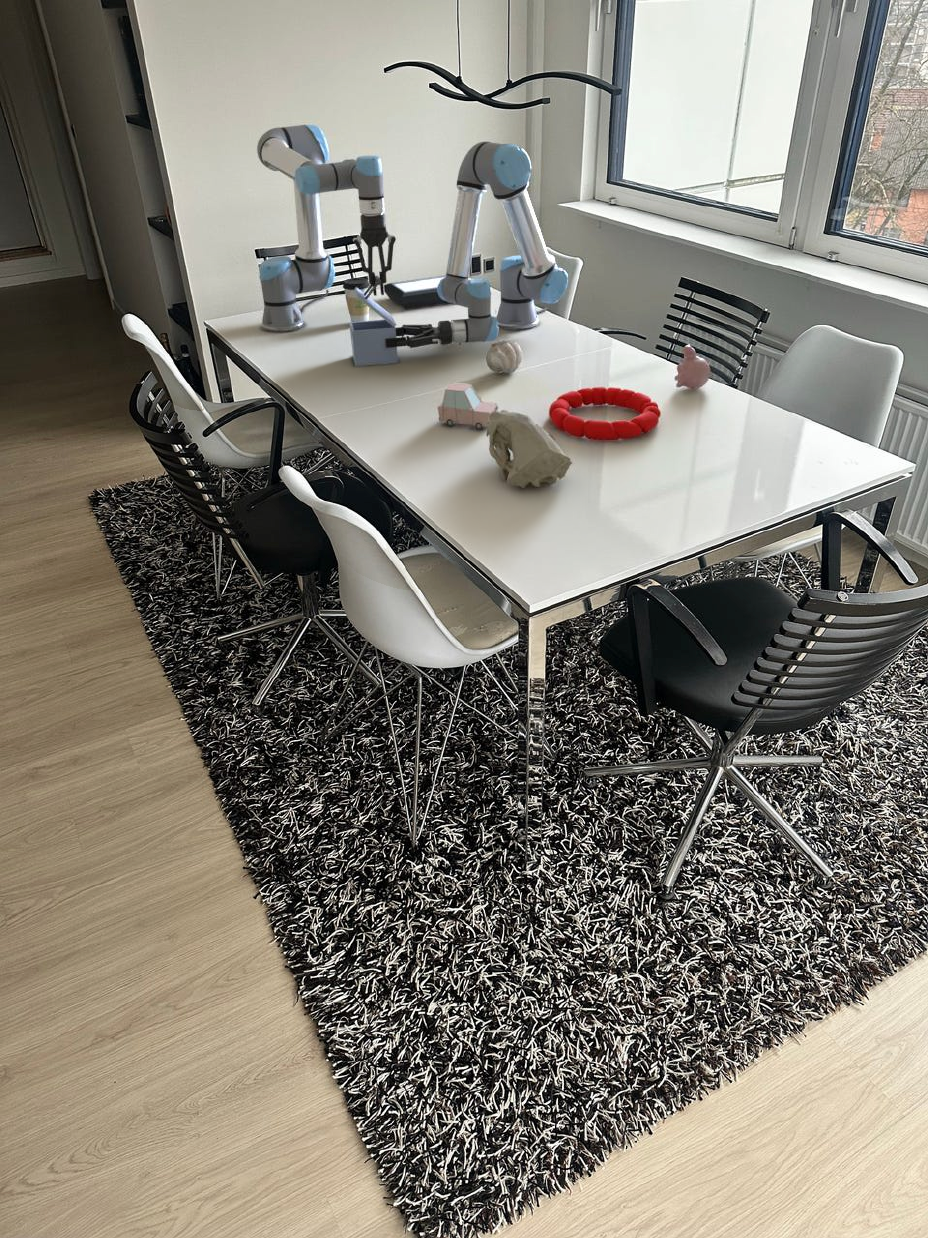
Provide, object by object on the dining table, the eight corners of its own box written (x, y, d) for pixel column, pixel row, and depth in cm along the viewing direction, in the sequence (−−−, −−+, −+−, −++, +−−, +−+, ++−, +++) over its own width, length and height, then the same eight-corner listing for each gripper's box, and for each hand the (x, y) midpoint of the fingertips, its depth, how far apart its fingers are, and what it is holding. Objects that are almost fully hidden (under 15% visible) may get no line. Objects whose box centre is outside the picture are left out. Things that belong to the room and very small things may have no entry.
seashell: (476, 372, 280) (475, 340, 274) (517, 363, 285) (517, 332, 280) (493, 381, 272) (492, 349, 266) (534, 372, 278) (534, 340, 272)
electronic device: (401, 294, 334) (383, 282, 349) (402, 311, 338) (384, 299, 353) (478, 283, 345) (457, 272, 360) (478, 299, 348) (458, 288, 363)
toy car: (488, 432, 240) (488, 396, 234) (436, 426, 244) (434, 390, 239) (499, 419, 247) (499, 384, 241) (448, 413, 252) (447, 379, 246)
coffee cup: (372, 326, 323) (368, 283, 314) (345, 327, 323) (340, 284, 315) (374, 318, 331) (371, 276, 322) (348, 319, 331) (344, 277, 323)
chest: (355, 366, 288) (352, 331, 281) (352, 356, 296) (349, 322, 290) (397, 362, 290) (395, 327, 283) (394, 352, 298) (391, 318, 292)
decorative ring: (589, 435, 224) (684, 402, 234) (527, 398, 247) (617, 369, 256) (589, 461, 229) (683, 427, 238) (529, 422, 251) (617, 393, 260)
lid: (357, 297, 276) (373, 275, 273) (354, 289, 284) (370, 267, 282) (394, 327, 283) (410, 306, 281) (390, 318, 292) (406, 297, 289)
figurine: (665, 387, 264) (669, 347, 257) (693, 380, 268) (698, 340, 261) (686, 396, 257) (690, 355, 250) (714, 388, 262) (720, 348, 255)
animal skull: (496, 517, 219) (521, 479, 201) (463, 429, 225) (484, 384, 207) (557, 503, 225) (586, 465, 206) (523, 417, 231) (549, 373, 212)
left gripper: (349, 217, 264) (356, 298, 278) (398, 214, 266) (403, 295, 280) (347, 212, 270) (354, 292, 284) (395, 209, 272) (400, 289, 286)
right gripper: (457, 354, 286) (389, 360, 283) (445, 333, 304) (380, 339, 301) (457, 330, 281) (387, 336, 278) (444, 311, 300) (379, 316, 297)
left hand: (378, 293), depth 282 cm, fingers closed on lid, 2 cm apart
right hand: (384, 338), depth 290 cm, fingers closed on chest, 10 cm apart
